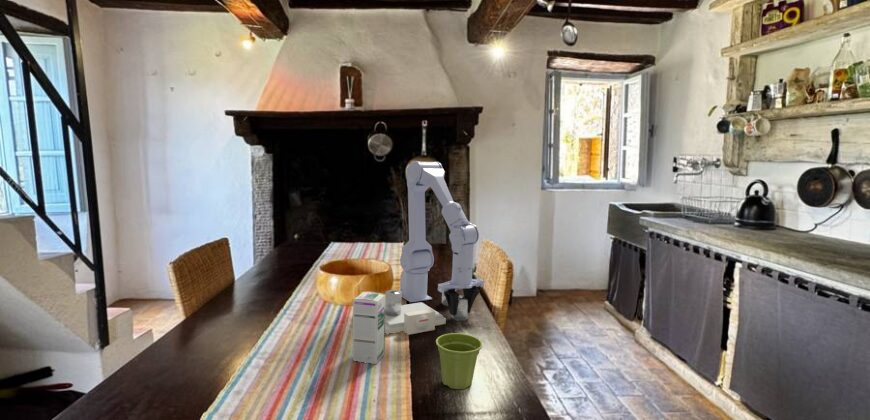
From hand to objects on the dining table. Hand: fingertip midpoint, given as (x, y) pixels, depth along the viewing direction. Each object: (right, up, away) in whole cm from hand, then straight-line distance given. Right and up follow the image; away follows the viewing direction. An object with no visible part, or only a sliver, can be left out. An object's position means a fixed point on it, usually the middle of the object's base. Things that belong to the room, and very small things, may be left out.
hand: (459, 313), depth 128 cm
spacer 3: (0, -1, 0) cm, 1 cm away
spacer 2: (-3, 0, +12) cm, 13 cm away
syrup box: (-22, -4, -27) cm, 35 cm away
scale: (-14, -1, -5) cm, 15 cm away
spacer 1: (-19, +1, -6) cm, 19 cm away
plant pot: (-3, -6, -36) cm, 37 cm away
